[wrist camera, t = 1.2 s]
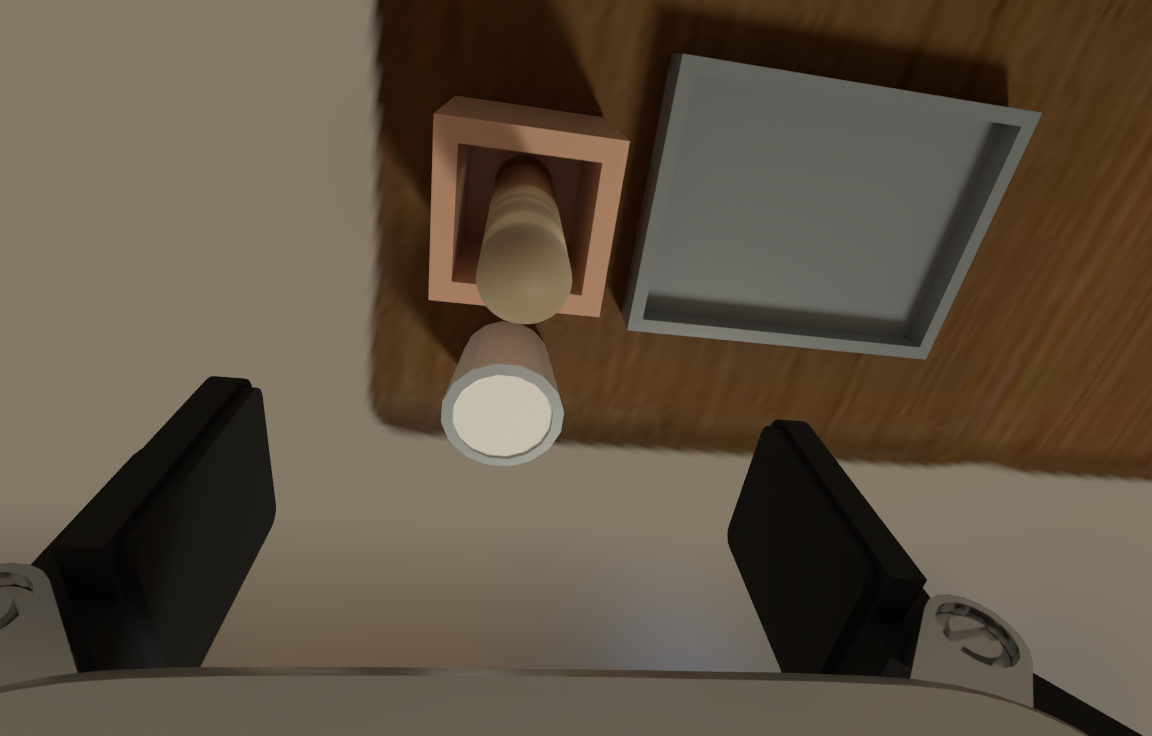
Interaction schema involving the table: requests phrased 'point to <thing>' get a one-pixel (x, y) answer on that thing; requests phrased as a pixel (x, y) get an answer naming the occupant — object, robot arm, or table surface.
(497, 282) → the dowel
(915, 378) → the table surface
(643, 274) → the tray
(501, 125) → the holder
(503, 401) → the cream short cylinder
